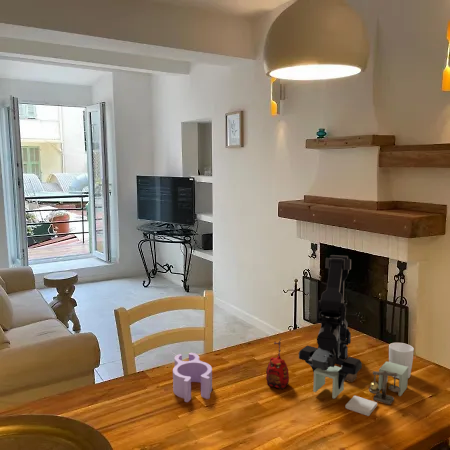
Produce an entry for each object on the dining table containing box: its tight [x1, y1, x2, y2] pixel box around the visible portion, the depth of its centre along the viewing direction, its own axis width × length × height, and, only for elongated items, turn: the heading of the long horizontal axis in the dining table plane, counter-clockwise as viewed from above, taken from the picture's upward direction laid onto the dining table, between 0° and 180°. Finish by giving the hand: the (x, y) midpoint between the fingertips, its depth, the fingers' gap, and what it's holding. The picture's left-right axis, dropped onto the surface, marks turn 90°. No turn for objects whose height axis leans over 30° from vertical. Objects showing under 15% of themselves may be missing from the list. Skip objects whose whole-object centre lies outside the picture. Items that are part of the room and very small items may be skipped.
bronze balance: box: [368, 371, 400, 406], centre depth 138 cm, size 9×4×10 cm, turn 53°
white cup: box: [388, 342, 415, 379], centre depth 154 cm, size 8×8×10 cm
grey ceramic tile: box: [345, 395, 378, 417], centre depth 135 cm, size 7×7×1 cm
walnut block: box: [340, 366, 358, 383], centre depth 152 cm, size 4×4×5 cm
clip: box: [172, 352, 213, 403], centre depth 148 cm, size 20×12×7 cm, turn 16°
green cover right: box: [378, 360, 409, 397], centre depth 145 cm, size 7×7×7 cm
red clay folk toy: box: [265, 337, 290, 390], centre depth 148 cm, size 8×7×15 cm
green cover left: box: [312, 365, 345, 399], centre depth 141 cm, size 7×7×7 cm
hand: (328, 385), depth 142 cm, fingers closed on green cover left, 7 cm apart
